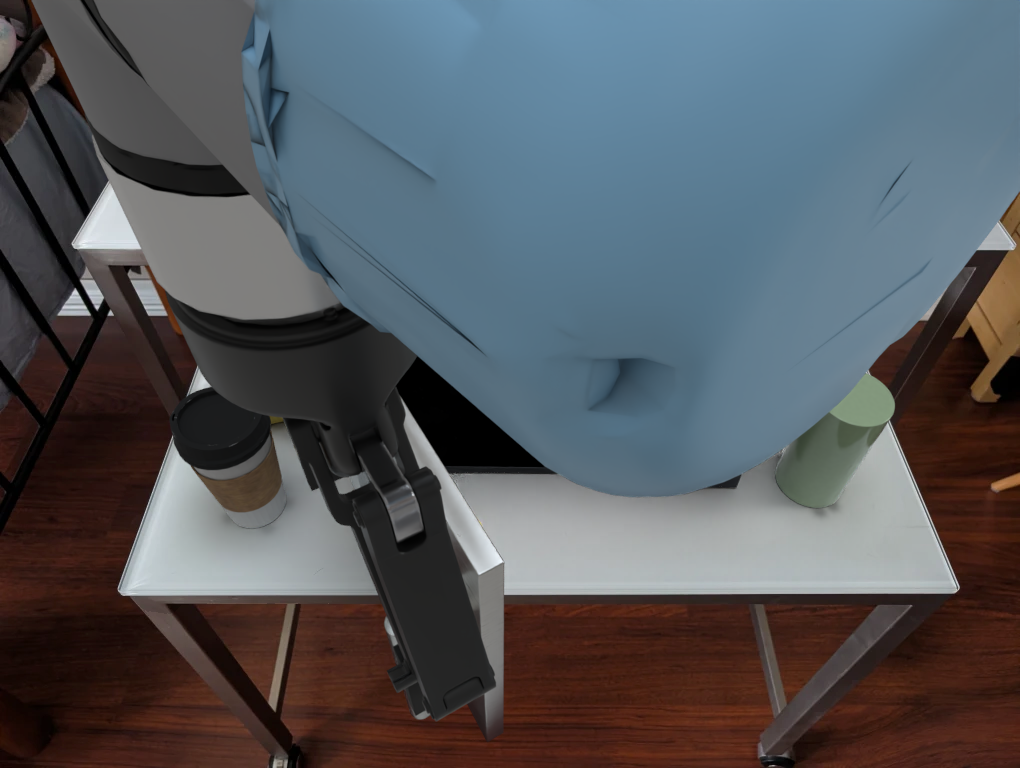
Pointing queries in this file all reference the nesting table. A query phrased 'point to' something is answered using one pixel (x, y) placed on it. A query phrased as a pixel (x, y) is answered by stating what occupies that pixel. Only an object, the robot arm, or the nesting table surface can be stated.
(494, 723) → the microwave door
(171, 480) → the nesting table surface
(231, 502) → the coffee cup
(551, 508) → the nesting table surface
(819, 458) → the canister
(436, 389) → the microwave
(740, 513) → the nesting table surface
